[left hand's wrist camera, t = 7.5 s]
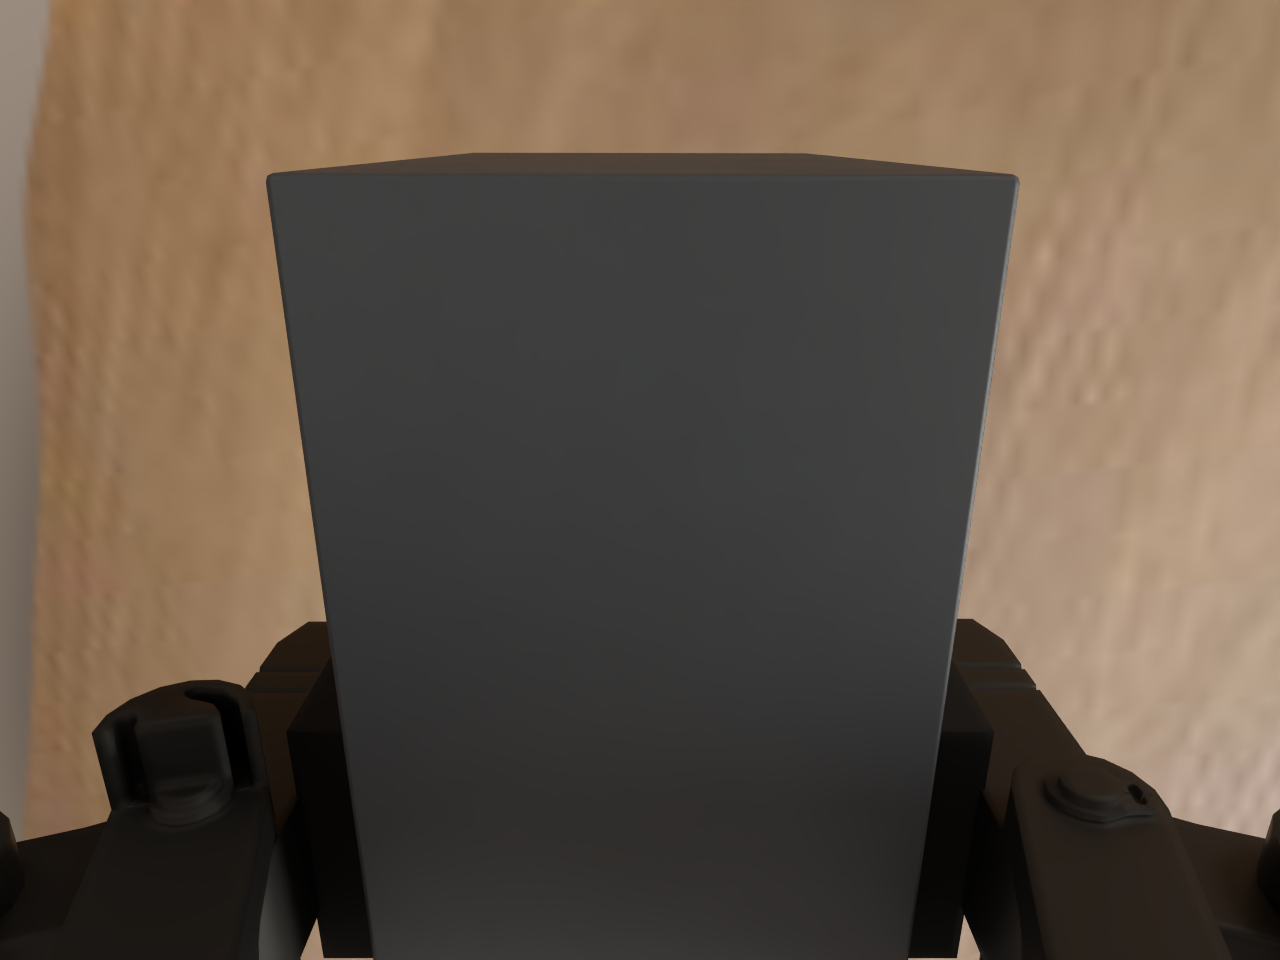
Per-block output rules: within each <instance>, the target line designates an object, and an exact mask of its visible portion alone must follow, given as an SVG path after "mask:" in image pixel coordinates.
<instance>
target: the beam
mask: <svg viewBox="0 0 1280 960" xmlns="http://www.w3.org/2000/svg"><path fill="white" fill-rule="evenodd" d="M1019 184H1020V183H1019V178H1018V177H1017V176H1015V175H1012V174H1003V173H993V172H983V171H974V170H964V169H954V168H944V167H934V166H924V165H914V164H904V163H894V162H884V161H875V160H865V159H855V158H845V157H835V156H825V155H815V154H791V153H469V154H459V155H449V156H439V157H429V158H419V159H409V160H399V161H389V162H379V163H369V164H359V165H349V166H339V167H329V168H319V169H309V170H299V171H289V172H279V173H272V174H270V175H268V176H267V180H266V186H267V193H268V200H269V208H270V215H271V222H272V229H273V236H274V244H275V251H276V258H277V265H278V273H279V280H280V287H281V294H282V302H283V309H284V316H285V323H286V331H287V338H288V345H289V352H290V360H291V367H292V374H293V381H294V388H295V396H296V403H297V410H298V417H299V425H300V432H301V439H302V446H303V454H304V461H305V468H306V475H307V483H308V490H309V497H310V504H311V512H312V519H313V526H314V533H315V541H316V548H317V555H318V562H319V569H320V577H321V584H322V591H323V598H324V606H325V613H326V620H327V627H328V635H329V642H330V649H331V656H332V664H333V671H334V678H335V685H336V693H337V700H338V707H339V714H340V721H341V729H342V736H343V743H344V750H345V758H346V765H347V772H348V779H349V787H350V794H351V801H352V808H353V816H354V823H355V830H356V837H357V845H358V852H359V859H360V866H361V874H362V881H363V888H364V895H365V902H366V910H367V917H368V924H369V931H370V939H371V946H372V953H373V960H908V956H909V950H910V943H911V936H912V929H913V922H914V915H915V908H916V901H917V894H918V887H919V880H920V873H921V866H922V859H923V852H924V845H925V838H926V831H927V824H928V817H929V810H930V803H931V796H932V789H933V783H934V776H935V769H936V762H937V755H938V748H939V741H940V734H941V727H942V720H943V713H944V706H945V699H946V692H947V685H948V678H949V671H950V664H951V657H952V650H953V643H954V636H955V629H956V622H957V615H958V609H959V602H960V595H961V588H962V581H963V574H964V567H965V560H966V553H967V546H968V539H969V532H970V525H971V518H972V511H973V504H974V497H975V490H976V483H977V476H978V469H979V462H980V455H981V448H982V442H983V435H984V428H985V421H986V414H987V407H988V400H989V393H990V386H991V379H992V372H993V365H994V358H995V351H996V344H997V337H998V330H999V323H1000V316H1001V309H1002V302H1003V295H1004V288H1005V281H1006V275H1007V268H1008V261H1009V254H1010V247H1011V240H1012V233H1013V226H1014V219H1015V212H1016V205H1017V198H1018V191H1019Z"/></svg>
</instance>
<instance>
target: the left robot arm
mask: <svg viewBox="0 0 1280 960" xmlns="http://www.w3.org/2000/svg"><path fill="white" fill-rule="evenodd" d="M92 736H93V740H94V744H95V748H96V752H97V756H98V759H99V763H100V767H101V771H102V775H103V779H104V783H105V787H106V790H107V794H108V798H109V802H110V806H111V813H110V815H109V817H108V820H107V822H103V823H99V824H96V825H92V826H89V827H85V828H81V829H76V830H71V831H67V832H62V833H58V834H53V835H48V836H44V837H39V838H34V839H30V840H25V841H20V842H16V840H15V836H14V833H13V830H12V827H11V824H10V820H9V818H8V817H7V816H5V815H4V814H3V813H2V812H0V960H301V959H300V957H301V955H302V952H303V950H304V948H305V945H306V943H307V940H308V938H309V936H310V933H311V931H312V928H313V926H314V923H315V921H316V919H317V920H318V926H319V932H320V938H321V944H322V950H323V956H324V958H373V953H372V946H371V939H370V931H369V924H368V917H367V910H366V902H365V895H364V888H363V881H362V874H361V866H360V859H359V852H358V845H357V837H356V830H355V823H354V816H353V808H352V801H351V794H350V787H349V779H348V772H347V765H346V758H345V750H344V743H343V736H342V729H341V721H340V714H339V707H338V700H337V693H336V685H335V678H334V671H333V664H332V656H331V649H330V642H329V635H328V627H327V622H307V623H306V624H304V625H303V626H302V627H300V628H299V629H297V630H296V631H294V632H293V633H291V634H290V635H288V636H287V637H285V638H284V639H282V640H281V641H279V642H278V643H277V644H276V645H275V647H274V648H273V650H272V651H271V652H270V654H269V655H268V657H267V658H266V659H265V661H264V662H263V664H262V665H261V666H260V672H256V673H255V675H254V676H253V678H252V679H251V680H250V682H249V683H248V685H247V686H246V687H245V688H243V687H242V686H241V685H238V684H234V683H230V682H226V681H221V680H193V681H186V682H182V683H177V684H173V685H168V686H163V687H159V688H157V689H155V690H152V691H150V692H147V693H145V694H142V695H140V696H137V697H135V698H132V699H130V700H129V701H127V702H126V703H124V704H123V705H121V706H120V707H118V708H117V709H115V710H114V711H112V712H111V713H109V714H108V715H106V716H105V718H104V719H103V720H102V721H101V722H100V724H99V725H98V726H97V727H96V728H95V730H94V731H93V732H92ZM964 915H965V918H966V920H967V922H968V925H969V927H970V930H971V932H972V934H973V937H974V939H975V942H976V944H977V946H978V949H979V951H980V959H979V960H1280V809H1279V810H1278V811H1277V812H1275V813H1274V814H1273V816H1272V820H1271V823H1270V826H1269V829H1268V832H1267V836H1266V839H1264V838H1260V837H1255V836H1250V835H1246V834H1241V833H1236V832H1232V831H1227V830H1222V829H1218V828H1213V827H1208V826H1204V825H1199V824H1195V823H1191V822H1188V821H1184V820H1181V819H1177V818H1173V817H1172V816H1171V813H1170V811H1169V809H1168V807H1167V806H1166V805H1165V803H1164V802H1163V800H1162V799H1161V798H1160V796H1159V795H1158V793H1157V792H1156V791H1155V789H1153V788H1152V787H1151V786H1149V785H1148V784H1147V783H1145V782H1144V781H1143V780H1141V779H1140V778H1139V777H1138V776H1136V775H1135V774H1134V773H1132V772H1130V771H1128V770H1126V769H1124V768H1122V767H1120V766H1117V765H1115V764H1113V763H1111V762H1109V761H1107V760H1105V759H1101V758H1097V757H1093V756H1089V755H1086V754H1085V752H1084V751H1083V749H1082V748H1081V747H1080V745H1079V744H1078V742H1077V741H1076V740H1075V738H1074V737H1073V736H1072V734H1071V733H1070V731H1069V730H1068V729H1067V727H1066V726H1065V724H1064V723H1063V722H1062V720H1061V719H1060V718H1059V716H1058V715H1057V713H1056V712H1055V711H1054V709H1053V708H1052V706H1051V705H1050V704H1049V702H1048V701H1047V699H1046V698H1045V697H1044V695H1043V694H1042V693H1041V691H1040V690H1036V684H1035V683H1034V681H1033V680H1032V679H1031V677H1030V676H1029V674H1028V673H1027V672H1026V670H1025V669H1021V663H1020V662H1019V661H1018V659H1017V658H1016V656H1015V655H1014V654H1013V652H1012V651H1011V650H1010V648H1009V647H1008V645H1007V644H1006V643H1005V641H1004V640H1003V639H1001V638H1000V637H998V636H997V635H996V634H994V633H993V632H991V631H990V630H988V629H987V628H985V627H984V626H982V625H981V624H979V623H978V622H976V621H975V620H973V619H957V622H956V629H955V636H954V643H953V650H952V657H951V664H950V671H949V678H948V685H947V692H946V699H945V706H944V713H943V720H942V727H941V734H940V741H939V748H938V755H937V762H936V769H935V776H934V783H933V789H932V796H931V803H930V810H929V817H928V824H927V831H926V838H925V845H924V852H923V859H922V866H921V873H920V880H919V887H918V894H917V901H916V908H915V915H914V922H913V929H912V936H911V943H910V950H909V956H908V958H957V953H958V947H959V941H960V935H961V930H962V924H963V918H964Z"/></svg>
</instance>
